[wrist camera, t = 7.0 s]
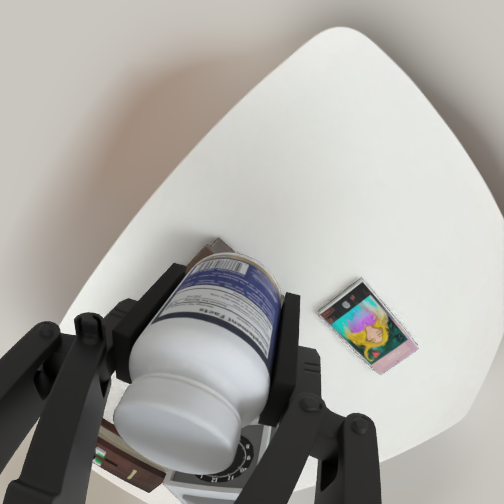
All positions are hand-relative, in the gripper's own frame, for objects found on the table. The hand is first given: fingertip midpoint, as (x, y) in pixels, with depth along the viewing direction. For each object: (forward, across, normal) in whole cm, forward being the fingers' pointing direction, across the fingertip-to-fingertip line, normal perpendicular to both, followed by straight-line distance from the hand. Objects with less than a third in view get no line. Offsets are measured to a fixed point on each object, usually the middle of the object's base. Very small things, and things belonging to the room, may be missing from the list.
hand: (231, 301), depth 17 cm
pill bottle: (+1, 0, 0) cm, 1 cm away
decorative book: (+20, -23, -65) cm, 72 cm away
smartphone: (+20, +17, -12) cm, 29 cm away
